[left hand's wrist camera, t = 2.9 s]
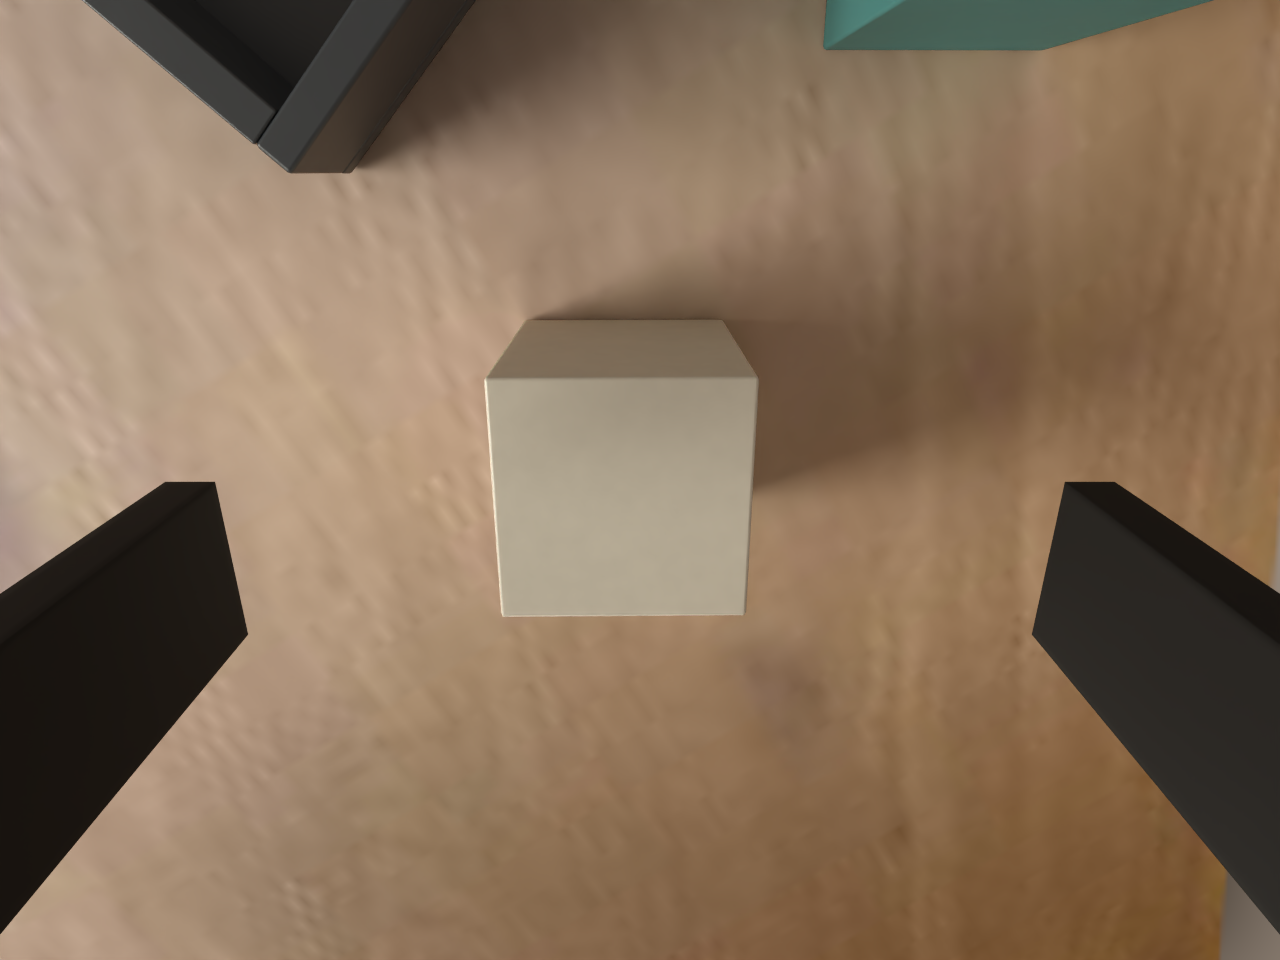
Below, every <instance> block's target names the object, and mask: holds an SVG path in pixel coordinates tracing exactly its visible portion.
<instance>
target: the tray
mask: <svg viewBox="0 0 1280 960" xmlns="http://www.w3.org/2000/svg"><path fill="white" fill-rule="evenodd" d="M82 1H83V2H85V3H86V4H87V5H88V6H89V7H91V8H92V9H93V10H94V11H95V12H97V13H98V14H99V15H100V16H101V17H102V18H104V19H105V20H106V21H107V22H108V23H110V24H111V25H112V26H113V27H114V28H116V29H117V30H118V31H119V32H120V33H122V34H123V35H124V36H125V37H126V38H127V39H129V40H130V41H131V42H132V43H133V44H135V45H136V46H137V47H138V48H139V49H141V50H142V51H143V52H144V53H145V54H147V55H148V56H149V57H150V58H151V59H153V60H154V61H155V62H156V63H157V64H158V65H160V66H161V67H162V68H163V69H164V70H166V71H167V72H168V73H169V74H170V75H172V76H173V77H174V78H175V79H176V80H178V81H179V82H180V83H181V84H182V85H183V86H185V87H186V88H187V89H188V90H189V91H191V92H192V93H193V94H194V95H195V96H197V97H198V98H199V99H200V100H201V101H203V102H204V103H205V104H206V105H207V106H209V107H210V108H211V109H212V110H213V111H214V112H216V113H217V114H218V115H219V116H220V117H222V118H223V119H224V120H225V121H226V122H228V123H229V124H230V125H231V126H232V127H234V128H235V129H236V130H237V131H238V132H239V133H241V134H242V135H243V136H244V137H245V138H247V139H248V140H249V141H250V142H251V143H253V144H257V145H258V147H259V148H260V149H261V150H262V151H263V152H264V153H265V154H266V155H268V156H269V157H270V158H271V159H272V160H274V161H275V162H276V163H277V164H278V165H280V166H281V167H282V168H283V169H284V170H286V171H287V172H289V173H351V172H352V171H353V170H354V168H355V167H356V165H357V164H358V163H359V161H360V160H361V159H362V157H363V156H364V154H365V153H366V152H367V150H368V149H369V147H370V146H371V145H372V143H373V142H374V140H375V139H376V138H377V136H378V135H379V134H380V132H381V131H382V129H383V128H384V127H385V125H386V124H387V122H388V121H389V120H390V118H391V117H392V115H393V114H394V113H395V111H396V110H397V108H398V107H399V106H400V104H401V103H402V102H403V100H404V99H405V97H406V96H407V95H408V93H409V92H410V90H411V89H412V88H413V86H414V85H415V83H416V82H417V81H418V79H419V78H420V77H421V75H422V74H423V72H424V71H425V70H426V68H427V67H428V65H429V64H430V63H431V61H432V60H433V58H434V57H435V56H436V54H437V53H438V51H439V50H440V49H441V47H442V46H443V45H444V43H445V42H446V40H447V39H448V38H449V36H450V35H451V33H452V32H453V31H454V29H455V28H456V26H457V25H458V24H459V22H460V21H461V20H462V18H463V17H464V15H465V14H466V13H467V11H468V10H469V8H470V7H471V6H472V4H473V3H474V1H475V0H82Z"/></svg>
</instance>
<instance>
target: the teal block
mask: <svg viewBox="0 0 1280 960" xmlns="http://www.w3.org/2000/svg"><path fill="white" fill-rule="evenodd" d="M1209 1H1213V0H827V4H826V17H825V31H824V44H823V46H824V49H826V50H1044V49H1048V48H1051V47H1055V46H1058V45H1061V44H1065V43H1068V42H1072V41H1075V40H1079V39H1082V38H1085V37H1089V36H1092V35H1096V34H1099V33H1103V32H1106V31H1110V30H1113V29H1116V28H1120V27H1123V26H1127V25H1130V24H1134V23H1137V22H1140V21H1144V20H1147V19H1151V18H1154V17H1158V16H1161V15H1164V14H1168V13H1171V12H1175V11H1178V10H1182V9H1185V8H1189V7H1192V6H1195V5H1199V4H1202V3H1206V2H1209Z"/></svg>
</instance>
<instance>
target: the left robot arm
mask: <svg viewBox="0 0 1280 960" xmlns="http://www.w3.org/2000/svg"><path fill="white" fill-rule="evenodd" d="M247 635H248V632H247V627H246V623H245V618H244V614H243V609H242V604H241V600H240V595H239V591H238V586H237V581H236V577H235V572H234V567H233V563H232V558H231V554H230V549H229V544H228V540H227V535H226V531H225V526H224V521H223V517H222V512H221V508H220V503H219V498H218V494H217V489H216V484H215V482H165V483H163V484H162V485H160V486H159V487H157V488H156V489H154V490H153V491H151V492H150V493H148V494H147V495H145V496H144V497H142V498H141V499H139V500H138V501H137V502H135V503H134V504H132V505H131V506H129V507H128V508H126V509H125V510H123V511H122V512H120V513H119V514H117V515H116V516H114V517H113V518H111V519H110V520H108V521H107V522H106V523H104V524H103V525H101V526H100V527H98V528H97V529H95V530H94V531H92V532H91V533H89V534H88V535H86V536H85V537H83V538H82V539H80V540H79V541H77V542H76V543H75V544H73V545H72V546H70V547H69V548H67V549H66V550H64V551H63V552H61V553H60V554H58V555H57V556H55V557H54V558H52V559H51V560H49V561H48V562H46V563H45V564H44V565H42V566H41V567H39V568H38V569H36V570H35V571H33V572H32V573H30V574H29V575H27V576H26V577H24V578H23V579H21V580H20V581H18V582H17V583H15V584H14V585H13V586H11V587H10V588H8V589H7V590H5V591H4V592H2V593H1V594H0V934H1V933H2V932H3V930H4V929H5V928H6V927H7V925H8V924H9V923H10V922H11V921H12V919H13V918H14V917H15V916H16V915H17V913H18V912H19V911H20V910H21V909H22V907H23V906H24V905H25V904H26V903H27V901H28V900H29V899H30V898H31V896H32V895H33V894H34V893H35V892H36V890H37V889H38V888H39V887H40V886H41V884H42V883H43V882H44V881H45V880H46V878H47V877H48V876H49V875H50V873H51V872H52V871H53V870H54V869H55V867H56V866H57V865H58V864H59V863H60V861H61V860H62V859H63V858H64V857H65V855H66V854H67V853H68V852H69V850H70V849H71V848H72V847H73V846H74V844H75V843H76V842H77V841H78V840H79V838H80V837H81V836H82V835H83V834H84V832H85V831H86V830H87V829H88V827H89V826H90V825H91V824H92V823H93V821H94V820H95V819H96V818H97V817H98V815H99V814H100V813H101V812H102V811H103V809H104V808H105V807H106V806H107V805H108V803H109V802H110V801H111V800H112V798H113V797H114V796H115V795H116V794H117V792H118V791H119V790H120V789H121V788H122V786H123V785H124V784H125V783H126V782H127V780H128V779H129V778H130V777H131V775H132V774H133V773H134V772H135V771H136V769H137V768H138V767H139V766H140V765H141V763H142V762H143V761H144V760H145V759H146V757H147V756H148V755H149V754H150V752H151V751H152V750H153V749H154V748H155V746H156V745H157V744H158V743H159V742H160V740H161V739H162V738H163V737H164V736H165V734H166V733H167V732H168V731H169V730H170V728H171V727H172V726H173V725H174V723H175V722H176V721H177V720H178V719H179V717H180V716H181V715H182V714H183V713H184V711H185V710H186V709H187V708H188V707H189V705H190V704H191V703H192V702H193V700H194V699H195V698H196V697H197V696H198V694H199V693H200V692H201V691H202V690H203V688H204V687H205V686H206V685H207V684H208V682H209V681H210V680H211V679H212V677H213V676H214V675H215V674H216V673H217V671H218V670H219V669H220V668H221V667H222V665H223V664H224V663H225V662H226V661H227V659H228V658H229V657H230V656H231V654H232V653H233V652H234V651H235V650H236V648H237V647H238V646H239V645H240V644H241V642H242V641H243V640H244V639H245V638H246V636H247ZM1032 635H1033V636H1034V638H1035V639H1036V640H1037V641H1038V642H1039V644H1040V645H1041V646H1042V647H1043V648H1044V650H1045V651H1046V652H1047V653H1048V654H1049V656H1050V657H1051V658H1052V659H1053V661H1054V662H1055V663H1056V664H1057V665H1058V667H1059V668H1060V669H1061V670H1062V671H1063V673H1064V674H1065V675H1066V676H1067V677H1068V679H1069V680H1070V681H1071V682H1072V684H1073V685H1074V686H1075V687H1076V688H1077V690H1078V691H1079V692H1080V693H1081V694H1082V696H1083V697H1084V698H1085V699H1086V700H1087V702H1088V703H1089V704H1090V705H1091V707H1092V708H1093V709H1094V710H1095V711H1096V713H1097V714H1098V715H1099V716H1100V717H1101V719H1102V720H1103V721H1104V722H1105V723H1106V725H1107V726H1108V727H1109V728H1110V730H1111V731H1112V732H1113V733H1114V734H1115V736H1116V737H1117V738H1118V739H1119V740H1120V742H1121V743H1122V744H1123V745H1124V746H1125V748H1126V749H1127V750H1128V751H1129V752H1130V754H1131V755H1132V756H1133V757H1134V759H1135V760H1136V761H1137V762H1138V763H1139V765H1140V766H1141V767H1142V768H1143V769H1144V771H1145V772H1146V773H1147V774H1148V775H1149V777H1150V778H1151V779H1152V780H1153V782H1154V783H1155V784H1156V785H1157V786H1158V788H1159V789H1160V790H1161V791H1162V792H1163V794H1164V795H1165V796H1166V797H1167V798H1168V800H1169V801H1170V802H1171V803H1172V805H1173V806H1174V807H1175V808H1176V809H1177V811H1178V812H1179V813H1180V814H1181V815H1182V817H1183V818H1184V819H1185V820H1186V821H1187V823H1188V824H1189V825H1190V826H1191V827H1192V829H1193V830H1194V831H1195V832H1196V834H1197V835H1198V836H1199V837H1200V838H1201V840H1202V841H1203V842H1204V843H1205V844H1206V846H1207V847H1208V848H1209V849H1210V850H1211V852H1212V853H1213V854H1214V855H1215V857H1216V858H1217V859H1218V860H1219V861H1220V863H1221V864H1222V865H1223V866H1224V867H1225V869H1226V870H1227V871H1228V872H1229V873H1230V875H1231V876H1232V877H1233V878H1234V880H1235V881H1236V882H1237V883H1238V884H1239V886H1240V887H1241V888H1242V889H1243V890H1244V892H1245V893H1246V894H1247V895H1248V896H1249V898H1250V899H1251V900H1252V901H1253V903H1254V904H1255V905H1256V906H1257V907H1258V909H1259V910H1260V911H1261V912H1262V913H1263V915H1264V916H1265V917H1266V918H1267V919H1268V921H1269V922H1270V923H1271V924H1272V925H1273V927H1274V928H1275V929H1276V930H1277V932H1278V933H1279V934H1280V594H1279V593H1278V592H1276V591H1275V590H1273V589H1272V588H1270V587H1269V586H1267V585H1266V584H1265V583H1263V582H1262V581H1260V580H1259V579H1257V578H1256V577H1254V576H1253V575H1251V574H1250V573H1248V572H1247V571H1245V570H1244V569H1242V568H1241V567H1239V566H1238V565H1236V564H1235V563H1234V562H1232V561H1231V560H1229V559H1228V558H1226V557H1225V556H1223V555H1222V554H1220V553H1219V552H1217V551H1216V550H1214V549H1213V548H1211V547H1210V546H1208V545H1207V544H1205V543H1204V542H1203V541H1201V540H1200V539H1198V538H1197V537H1195V536H1194V535H1192V534H1191V533H1189V532H1188V531H1186V530H1185V529H1183V528H1182V527H1180V526H1179V525H1177V524H1176V523H1174V522H1173V521H1172V520H1170V519H1169V518H1167V517H1166V516H1164V515H1163V514H1161V513H1160V512H1158V511H1157V510H1155V509H1154V508H1152V507H1151V506H1149V505H1148V504H1146V503H1145V502H1143V501H1142V500H1141V499H1139V498H1138V497H1136V496H1135V495H1133V494H1132V493H1130V492H1129V491H1127V490H1126V489H1124V488H1123V487H1121V486H1120V485H1118V484H1117V483H1115V482H1065V484H1064V489H1063V494H1062V498H1061V503H1060V508H1059V512H1058V517H1057V521H1056V526H1055V531H1054V535H1053V540H1052V544H1051V549H1050V554H1049V558H1048V563H1047V567H1046V572H1045V577H1044V581H1043V586H1042V591H1041V595H1040V600H1039V604H1038V609H1037V614H1036V618H1035V623H1034V627H1033V632H1032Z"/></svg>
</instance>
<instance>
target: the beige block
mask: <svg viewBox="0 0 1280 960" xmlns="http://www.w3.org/2000/svg"><path fill="white" fill-rule="evenodd" d="M484 383H485V397H486V410H487V424H488V438H489V451H490V465H491V479H492V492H493V506H494V519H495V533H496V547H497V560H498V574H499V588H500V601H501V614H502V616H504V617H536V616H684V615H745V613H746V603H747V585H748V567H749V549H750V531H751V513H752V495H753V477H754V459H755V442H756V424H757V406H758V388H759V379H758V376H757V375H756V373H755V372H754V370H753V368H752V367H751V365H750V364H749V362H748V360H747V359H746V357H745V356H744V354H743V352H742V351H741V349H740V348H739V346H738V344H737V343H736V341H735V340H734V338H733V336H732V335H731V333H730V332H729V330H728V328H727V327H726V325H725V324H724V322H723V320H526V321H524V323H523V324H522V326H521V327H520V329H519V330H518V332H517V333H516V334H515V336H514V337H513V339H512V340H511V342H510V343H509V345H508V346H507V347H506V349H505V350H504V352H503V353H502V355H501V356H500V358H499V359H498V360H497V362H496V363H495V365H494V366H493V368H492V369H491V371H490V372H489V373H488V375H487V376H486V378H485V380H484Z"/></svg>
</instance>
